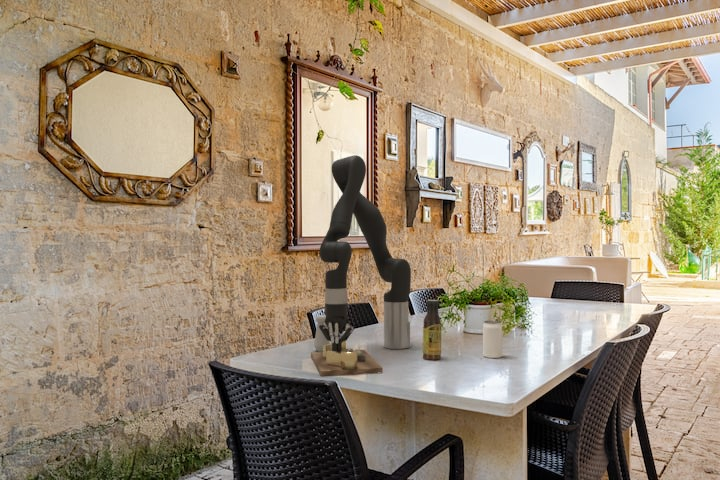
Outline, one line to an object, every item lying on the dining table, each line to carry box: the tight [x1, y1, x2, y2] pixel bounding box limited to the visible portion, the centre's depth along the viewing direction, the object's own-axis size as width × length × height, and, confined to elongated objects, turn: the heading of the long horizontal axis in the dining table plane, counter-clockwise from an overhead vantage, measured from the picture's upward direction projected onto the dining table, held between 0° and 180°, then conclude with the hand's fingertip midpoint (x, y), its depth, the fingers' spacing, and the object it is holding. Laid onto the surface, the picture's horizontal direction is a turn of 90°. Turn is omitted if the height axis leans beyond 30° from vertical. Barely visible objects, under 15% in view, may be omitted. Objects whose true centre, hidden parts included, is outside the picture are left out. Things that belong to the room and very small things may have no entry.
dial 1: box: [323, 340, 347, 357], centre depth 200 cm, size 12×5×6 cm, turn 151°
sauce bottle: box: [422, 299, 443, 361], centre depth 200 cm, size 6×6×20 cm
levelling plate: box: [310, 348, 383, 377], centre depth 193 cm, size 19×29×5 cm, turn 11°
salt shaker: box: [313, 314, 331, 352], centre depth 216 cm, size 6×6×13 cm
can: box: [482, 320, 503, 359], centre depth 202 cm, size 6×6×12 cm
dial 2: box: [326, 348, 357, 369], centre depth 183 cm, size 12×5×6 cm, turn 51°
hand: (336, 354), depth 195 cm, fingers closed
